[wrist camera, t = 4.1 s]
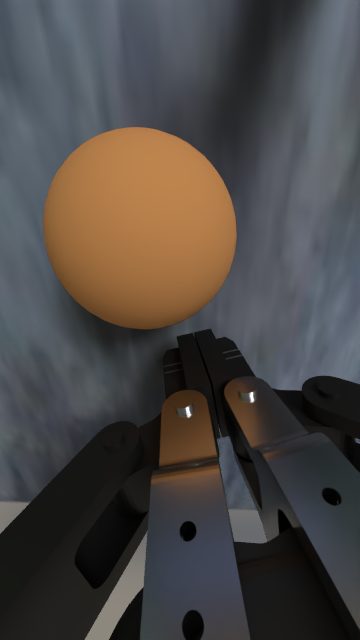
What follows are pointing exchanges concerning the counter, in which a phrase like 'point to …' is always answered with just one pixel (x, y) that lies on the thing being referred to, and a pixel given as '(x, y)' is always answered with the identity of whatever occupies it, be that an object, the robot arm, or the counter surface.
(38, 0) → the counter surface
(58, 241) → the ball
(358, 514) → the robot arm
